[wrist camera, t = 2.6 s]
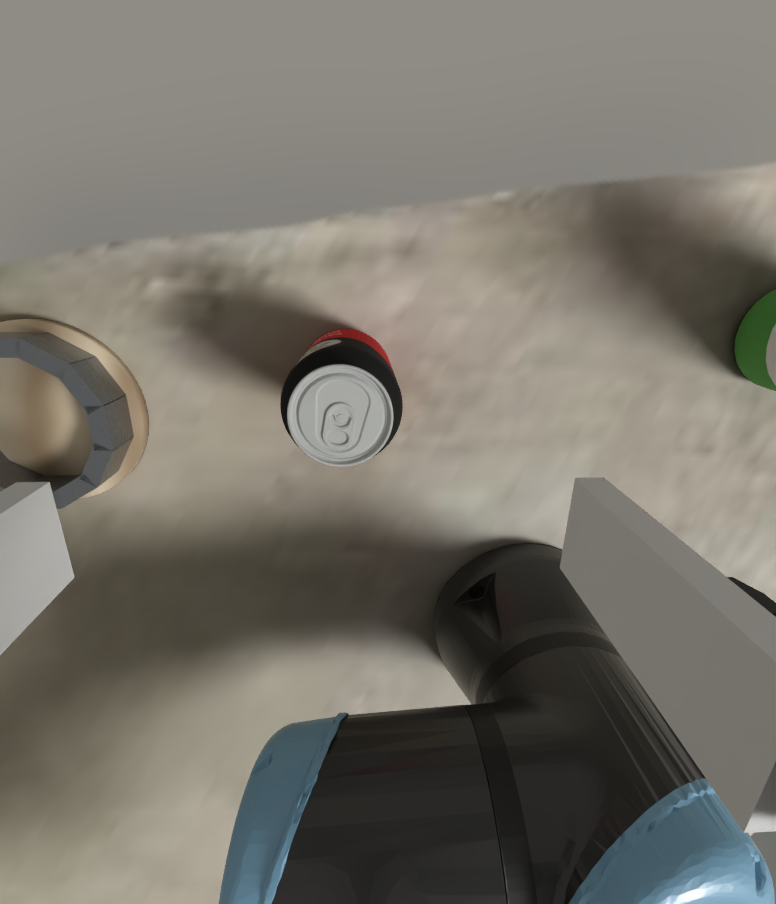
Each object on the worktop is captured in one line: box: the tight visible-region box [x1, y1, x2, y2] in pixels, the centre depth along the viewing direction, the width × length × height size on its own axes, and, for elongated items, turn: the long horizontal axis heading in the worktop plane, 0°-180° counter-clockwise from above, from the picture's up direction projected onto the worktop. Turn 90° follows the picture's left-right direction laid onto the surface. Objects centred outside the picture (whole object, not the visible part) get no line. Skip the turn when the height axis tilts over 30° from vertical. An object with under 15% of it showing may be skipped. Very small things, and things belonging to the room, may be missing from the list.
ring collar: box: [0, 332, 134, 508], centre depth 31 cm, size 11×11×3 cm
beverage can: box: [281, 329, 402, 467], centre depth 28 cm, size 6×6×12 cm
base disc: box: [0, 319, 149, 499], centre depth 33 cm, size 13×13×1 cm
